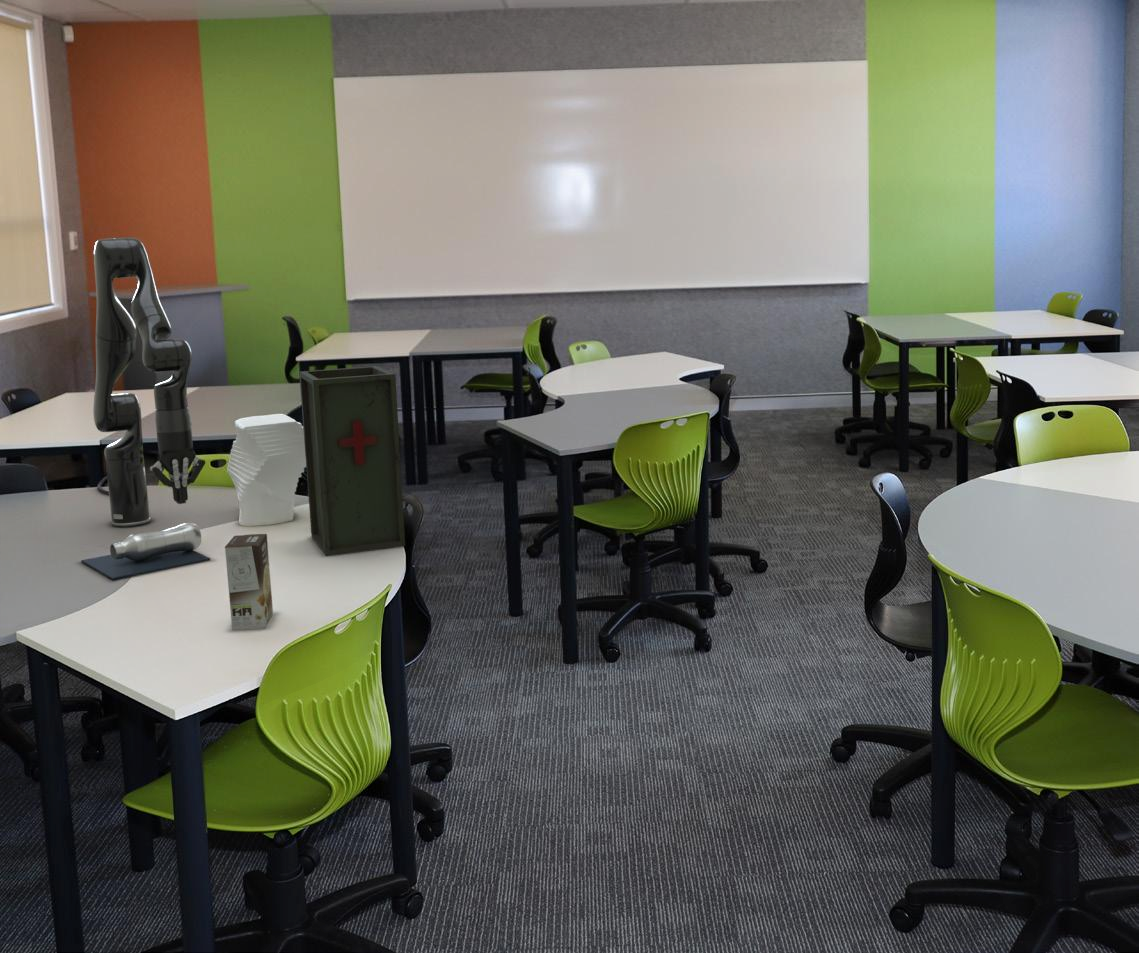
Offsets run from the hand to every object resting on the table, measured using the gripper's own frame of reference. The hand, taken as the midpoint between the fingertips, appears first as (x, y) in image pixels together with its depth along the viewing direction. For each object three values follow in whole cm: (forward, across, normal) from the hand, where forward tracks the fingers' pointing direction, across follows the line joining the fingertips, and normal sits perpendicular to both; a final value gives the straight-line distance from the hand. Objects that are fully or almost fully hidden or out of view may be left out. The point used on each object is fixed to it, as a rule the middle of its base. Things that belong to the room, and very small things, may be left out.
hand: (181, 503), depth 278 cm
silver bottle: (+8, -4, 0) cm, 9 cm away
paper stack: (+12, -32, -20) cm, 40 cm away
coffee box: (+12, +11, +58) cm, 60 cm away
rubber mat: (+12, +9, 0) cm, 15 cm away
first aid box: (+12, -34, +20) cm, 41 cm away
